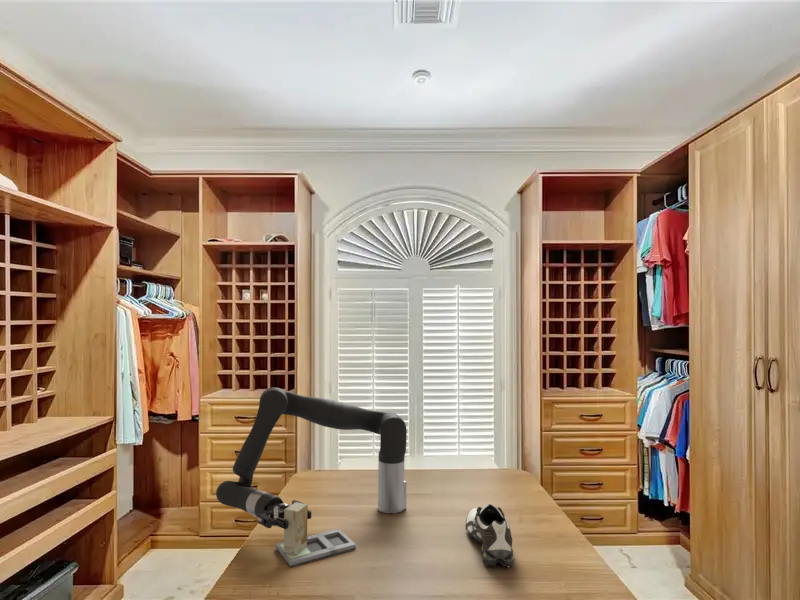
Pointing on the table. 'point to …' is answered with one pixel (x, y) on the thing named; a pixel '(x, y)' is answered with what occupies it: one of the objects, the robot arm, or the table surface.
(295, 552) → the skincare box
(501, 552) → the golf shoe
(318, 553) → the board
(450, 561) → the table surface
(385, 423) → the robot arm
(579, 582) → the table surface
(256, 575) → the table surface
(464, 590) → the table surface
